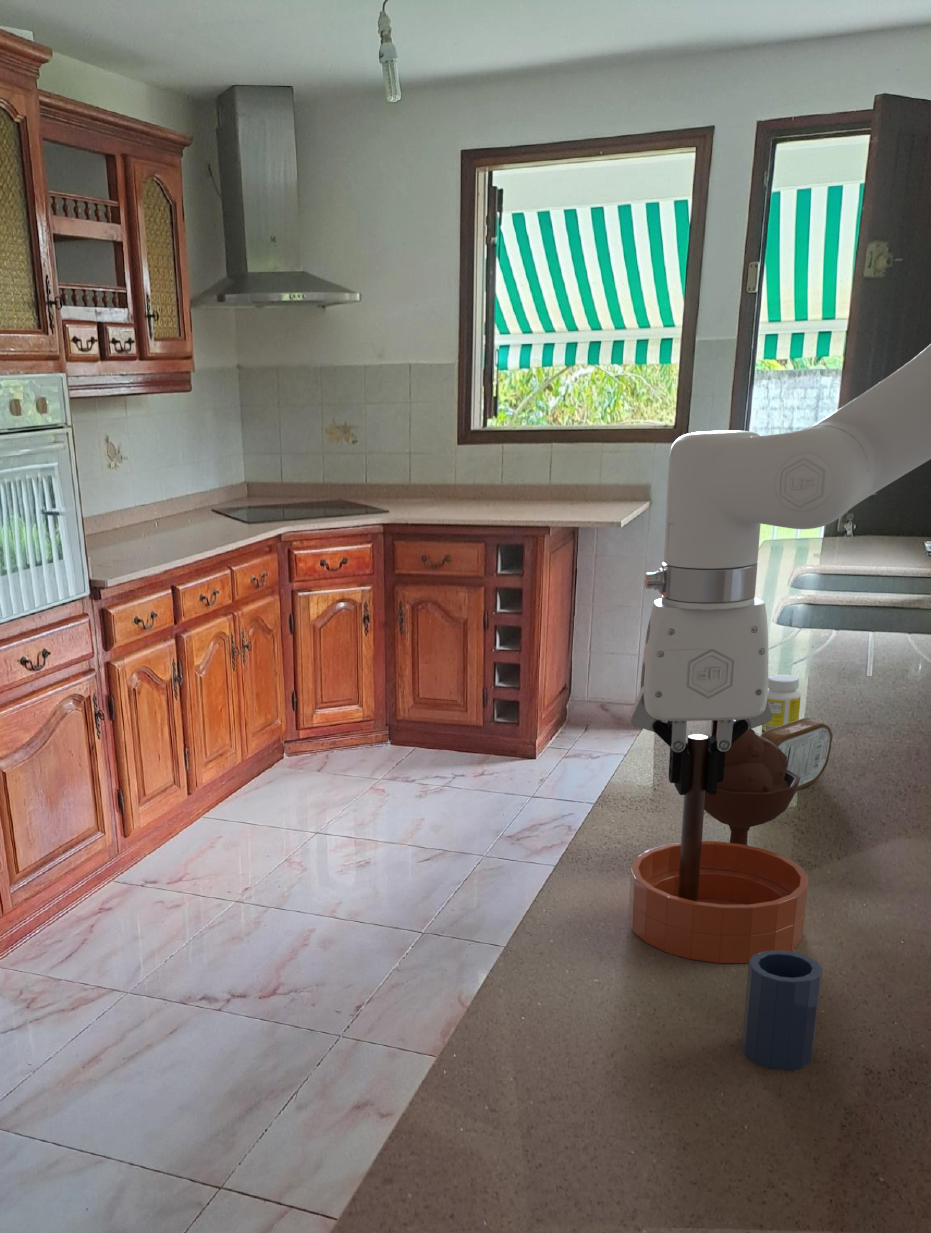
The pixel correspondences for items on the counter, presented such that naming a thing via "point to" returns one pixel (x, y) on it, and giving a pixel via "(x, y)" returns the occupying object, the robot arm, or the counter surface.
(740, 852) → the mixing bowl
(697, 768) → the stirring stick
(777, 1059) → the utensil pot
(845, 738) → the counter surface
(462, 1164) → the counter surface
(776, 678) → the supplement bottle
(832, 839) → the counter surface
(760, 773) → the ice cream bowl
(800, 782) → the tin
